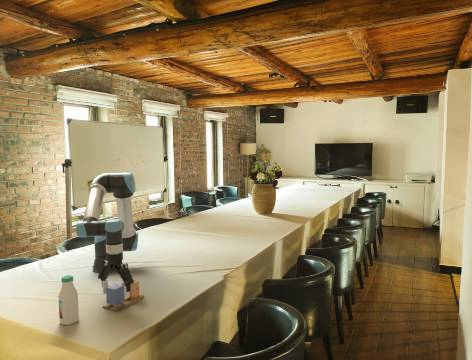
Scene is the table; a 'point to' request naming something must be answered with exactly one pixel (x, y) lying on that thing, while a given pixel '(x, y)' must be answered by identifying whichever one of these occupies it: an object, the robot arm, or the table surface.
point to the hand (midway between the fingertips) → (116, 295)
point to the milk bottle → (68, 302)
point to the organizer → (132, 299)
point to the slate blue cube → (115, 294)
